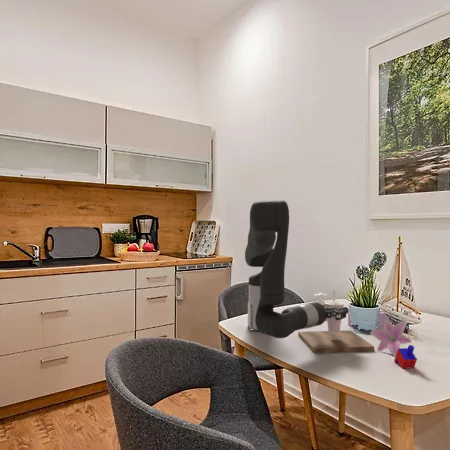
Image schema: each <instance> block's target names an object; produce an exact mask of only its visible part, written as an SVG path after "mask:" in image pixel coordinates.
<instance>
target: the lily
mask: <svg viewBox="0 0 450 450" xmlns="http://www.w3.org/2000/svg"><path fill="white" fill-rule="evenodd" d="M406 325H407V320H403V321H401V322H400V323H398V324H396V325H394V326H392V325H391V323H390V322H389V321H387V320H386V321H385V325H384V329H379V330H374V331H369V332H370V335H371V336H373V337H374V338H375V339H377V340H379V345H378V347H377V352H382V351H384V350H386V349H388V350H389V352H390V353H391V354H392V355H393V357H394V358H395V357H396V354H397V351H398V348H400V347H401V345H405V344H411V343H413V342H412V340H411V339H410V338H409V337H407V336H405V335H404V331H405V328H406Z"/></svg>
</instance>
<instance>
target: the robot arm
mask: <svg viewBox="0 0 450 450" xmlns="http://www.w3.org/2000/svg"><path fill="white" fill-rule="evenodd" d="M289 228H290V209H289V206H288V203H287V201H285V200H282V199H279V200H278V199H277V200H276V199H274V200H273V199H272V200H268V199H267V200H257V201H255V202H253V203H252V204H251V206H250V210H249V230H248V235H247V245H246V247H245V250H244V251H245V252H244V259H245V263H246V264H247V266H249V267H253V268H262V269H261V271H260V272H258V273H256V274H252V275H250V276H249V277H248V302H247V327H248V326H249V327H248V329H249V328H250V329H254V330H253V331H255V330H259V331H258V332H260V333H261V334H264V335H267V336H270V337H272V338H275V339H285V338H287V337H289V336H291V334H294V332H295V331H300V330H303V329H305V330H306V329H311V328H315V327H318V326H321V325H323V324H324V323H325V322H326V321H327V319H329V318H335V320H341V321H342V320H343V319H345V318H347V315H348V308H349V307H348V306H344V307H343V308H335V307H326V306H325V305H322V304H320V303H317V302H316V301H311V302H312V303H310V302H307V303H303V304H302V303H301V304H299V305H296V306H293V307H287V308H286V309H283V310H282V311H281V312H277V311H275V310H274V307H275V306H278V305H282V304H283V303H284V301H285V297H286V296H285V293H286V292H285V267H286V258H287V248H288V240H289V239H288V238H289ZM332 309H333V313H332ZM250 329H249V330H250Z"/></svg>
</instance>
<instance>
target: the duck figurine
mask: <svg viewBox="0 0 450 450" xmlns="http://www.w3.org/2000/svg"><path fill="white" fill-rule="evenodd" d="M313 296H314V297H316V301H315V302H317V303H320V304H322V305H325V302H326V301H327V300H326V297H327V296H328V294H327V293H323V292H318V293H313ZM312 302H313V301H311V302H309V303H312Z"/></svg>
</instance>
